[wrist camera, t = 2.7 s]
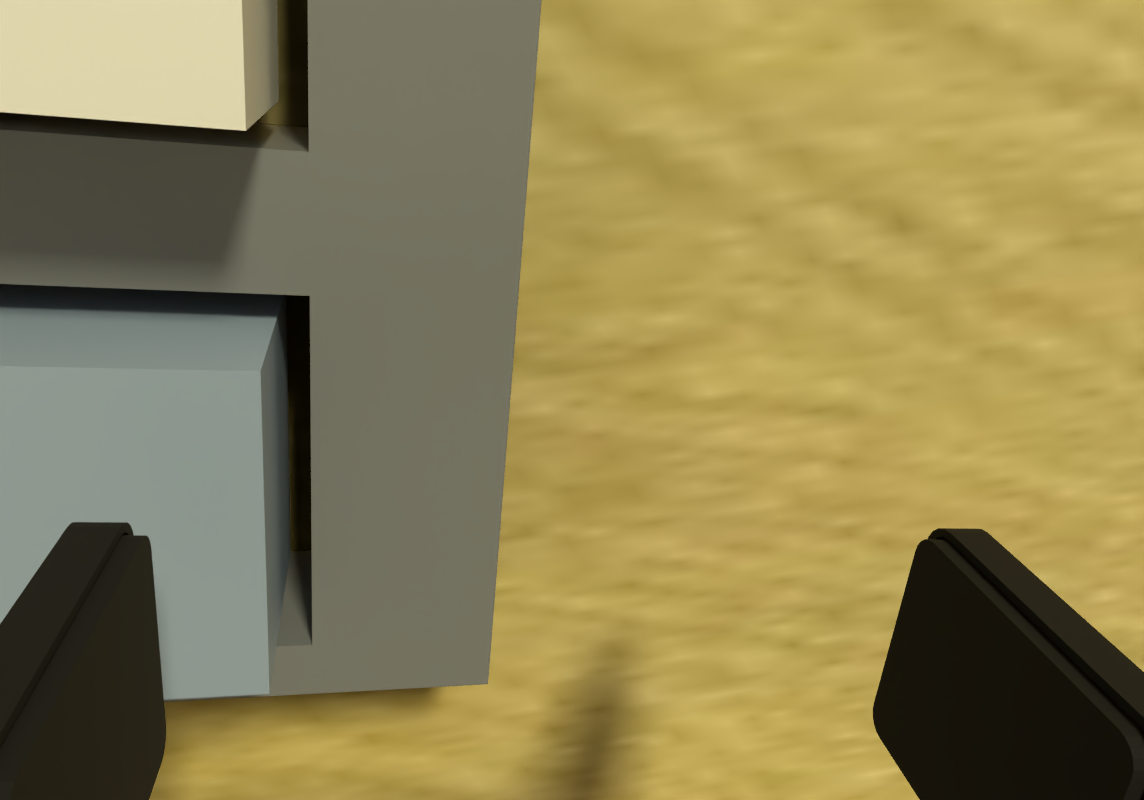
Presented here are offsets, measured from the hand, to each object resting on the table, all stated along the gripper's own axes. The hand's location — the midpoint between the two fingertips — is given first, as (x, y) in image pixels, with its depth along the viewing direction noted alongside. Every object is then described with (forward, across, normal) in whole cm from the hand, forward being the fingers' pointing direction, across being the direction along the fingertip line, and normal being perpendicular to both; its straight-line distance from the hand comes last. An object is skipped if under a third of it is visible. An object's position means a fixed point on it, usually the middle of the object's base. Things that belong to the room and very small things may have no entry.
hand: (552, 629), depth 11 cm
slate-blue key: (+6, +6, 0) cm, 9 cm away
